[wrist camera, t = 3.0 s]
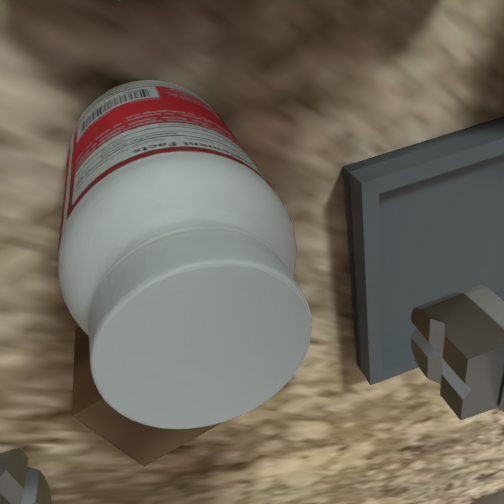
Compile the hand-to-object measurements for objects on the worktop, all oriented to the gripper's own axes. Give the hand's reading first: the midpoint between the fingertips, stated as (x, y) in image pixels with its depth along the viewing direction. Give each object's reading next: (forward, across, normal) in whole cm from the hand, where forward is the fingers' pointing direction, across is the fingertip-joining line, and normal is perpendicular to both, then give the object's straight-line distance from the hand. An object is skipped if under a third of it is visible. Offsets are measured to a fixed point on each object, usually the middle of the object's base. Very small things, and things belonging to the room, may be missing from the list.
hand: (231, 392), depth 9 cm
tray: (+12, -15, +9) cm, 21 cm away
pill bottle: (+12, 0, -1) cm, 12 cm away
